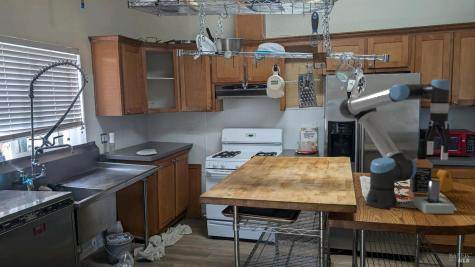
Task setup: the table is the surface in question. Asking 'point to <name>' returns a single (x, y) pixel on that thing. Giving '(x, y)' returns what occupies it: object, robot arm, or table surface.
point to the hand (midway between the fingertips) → (436, 157)
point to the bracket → (445, 180)
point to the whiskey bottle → (421, 173)
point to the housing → (433, 206)
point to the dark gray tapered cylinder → (433, 191)
